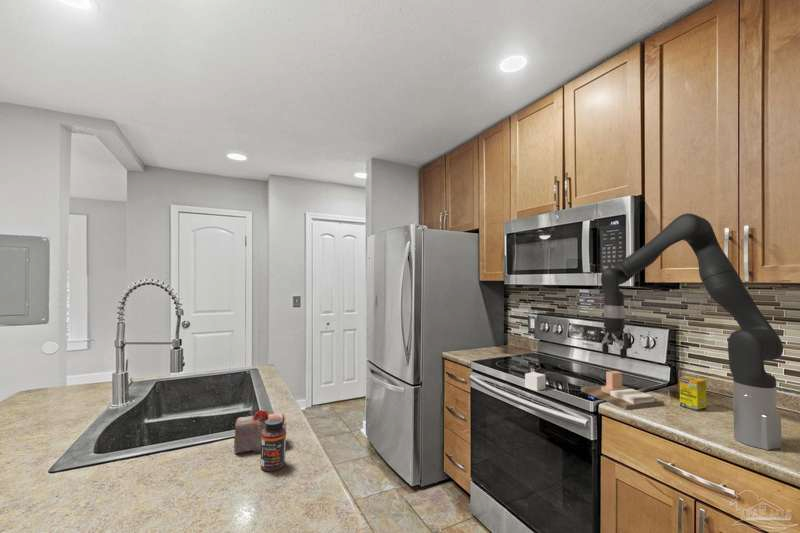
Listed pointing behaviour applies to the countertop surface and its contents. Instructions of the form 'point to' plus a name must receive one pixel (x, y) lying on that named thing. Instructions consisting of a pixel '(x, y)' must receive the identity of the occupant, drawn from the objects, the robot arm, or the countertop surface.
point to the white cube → (535, 381)
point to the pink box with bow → (252, 431)
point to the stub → (613, 381)
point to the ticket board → (616, 401)
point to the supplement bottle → (273, 445)
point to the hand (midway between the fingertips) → (614, 355)
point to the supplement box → (693, 393)
